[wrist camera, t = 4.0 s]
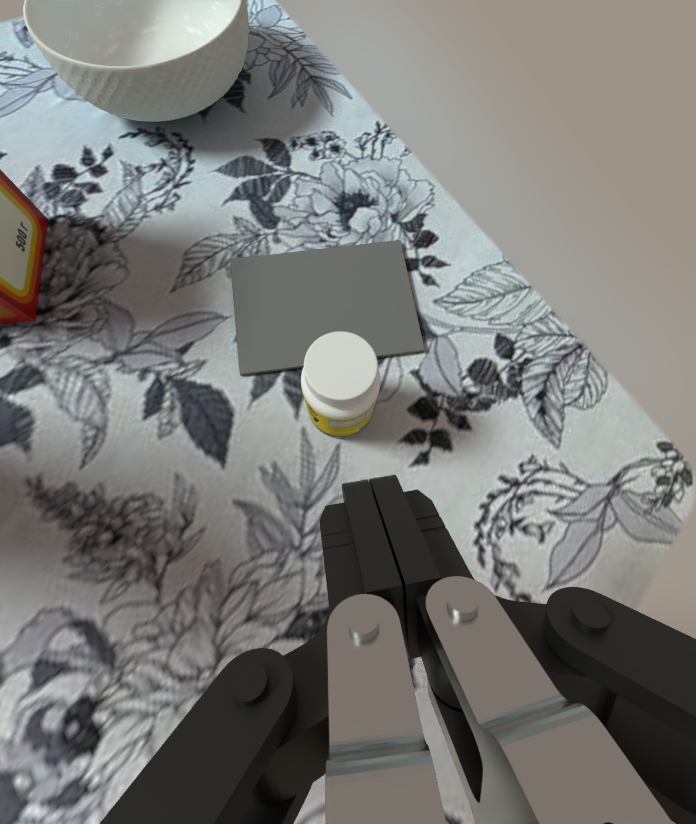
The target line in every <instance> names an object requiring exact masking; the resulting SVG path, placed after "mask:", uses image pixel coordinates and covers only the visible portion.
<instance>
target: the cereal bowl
mask: <svg viewBox="0 0 696 824" xmlns="http://www.w3.org/2000/svg"><path fill="white" fill-rule="evenodd" d="M23 12H24V20H25V24H26V27H27V29H28V31H29V33H30V35H31V37H32V38H33V40H34V41H35V43H36V45H37V47H38V48H39V50H40V51H41V52H42V53H43V55H44V57H45V58H46V60H47V61H48V62H49V63H50V65H51V67H52V68H53V69H54V70H55V71H56V72H57V73H58V75H59V76H60V78H62V80H63V81H65V82H66V84H67V85H68V86H69V87H70V88H72V89H73V90H74V91H75V92H76V93H77V94H78V95H80V96H81V97H82V98H83V99H84V100H86V101H88V102H90V103H91V104H93V105H94V106H96V107H98V108H100V109H101V110H104V111H107V112H109V113H110V114H114V115H116V116H118V117H123V118H126V119H131V120H136V121H149V122H156V121H158V122H160V121H170V120H174V119H180V118H184V117H188V116H189V115H192V114H196V113H197V112H199V111H201V110H204V109H205V108H207V107H209V106H210V105H212V104H213V103H214V102H216V101H217V100H218V99H219V98H221V97H223V96H224V94H225V93H226V92H227V91H228V90H229V89H230V87H231V86H232V85H233V84H234V82H235V80H236V79H237V78H238V75H239V73H240V72H241V70H242V67H243V65H244V61H245V57H246V55H247V48H248V46H249V42H248V39H249V23H248V12H247V4H246V0H25V1H24V7H23Z"/></svg>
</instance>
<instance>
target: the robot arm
mask: <svg viewBox="0 0 696 824" xmlns="http://www.w3.org/2000/svg"><path fill="white" fill-rule="evenodd" d="M342 492H343V499H344V503H339V504H333V505H328V506H325V509H324V511H323V513H322V516H321V518H320V529H321V537H322V546H323V555H324V564H325V573H326V582H327V590H328V599H329V610H328V615H327V618H326V621H325V623H324V625H323V626H322V628H321V629H320V631H319V632H318V633H317V634H316V635H315V636H314V637H313V638H312V639H311V640H310V641H308V642H307V643H305V644H304V645H302V646H300V647H298V648H297V649H295V650H293V651H291V652H289V653H288V654H286V655H284V656H283V655H281V654H280V653H279V652H277V651H274V650H272V649H267V648H258V649H253V650H249V651H246V652H244V653H242V654H240V655H239V656H237V657H236V658H234V659H233V660H232V661H231V662H230V663H228V664H227V665H226V667H225V668H224V669H223V670H222V671H221V672H220V674H219V675H218V676H217V677H216V679H215V680H214V681H213V682H212V684H211V685H210V686H209V687H208V689H207V690H206V691H205V692H204V694H203V695H202V696H201V697H200V699H199V700H198V701H197V702H196V704H195V705H194V706H193V707H192V709H191V710H190V711H189V712H188V714H187V715H186V716H185V717H184V719H183V720H182V721H181V722H180V724H179V725H178V726H177V727H176V729H175V730H174V731H173V733H172V734H171V735H170V736H169V738H168V739H167V740H166V741H165V743H164V744H163V745H162V746H161V748H160V749H159V750H158V751H157V753H156V754H155V755H154V756H153V758H152V759H151V760H150V761H149V763H148V764H147V765H146V766H145V768H144V769H143V770H142V771H141V773H140V774H139V775H138V776H137V778H136V779H135V780H134V781H133V783H132V784H131V785H130V786H129V788H128V789H127V790H126V791H125V793H124V794H123V795H122V796H121V798H120V799H119V800H118V801H117V803H116V804H115V805H114V806H113V808H112V809H111V810H110V811H109V813H108V814H107V815H106V816H105V818H104V819H103V820H102V821H101V823H100V824H293V823H294V821H295V819H296V817H297V815H298V813H299V811H300V809H301V807H302V805H303V803H304V801H305V799H306V797H307V795H308V793H309V791H310V788H311V786H312V783H313V782H314V781H316V780H317V779H319V778H320V777H321V776H323V775H324V774H326V775H325V810H326V824H446V821H445V816H444V812H443V807H442V802H441V797H440V793H439V788H438V783H437V779H436V774H435V770H434V765H433V761H432V757H431V754H430V750H429V747H428V745H427V744H426V742H425V739H424V735H423V731H422V726H421V722H420V717H419V712H418V707H417V702H416V697H415V692H414V687H413V683H412V678H411V673H410V668H409V663H408V658H407V653H406V648H407V652H408V655H409V659H412V658H417V657H422V661H423V664H424V667H425V670H426V673H427V687H428V694H429V697H430V700H431V703H432V705H433V708H434V711H435V713H436V716H437V719H438V721H439V724H440V726H441V729H442V732H443V734H444V737H445V740H446V742H447V745H448V748H449V750H450V753H451V756H452V758H453V761H454V763H455V766H456V769H457V771H458V774H459V777H460V779H461V782H462V785H463V787H464V790H465V792H466V795H467V798H468V800H469V803H470V806H471V809H472V813H473V816H474V820H475V824H673V823H672V821H673V822H674V823H676V824H696V639H694V638H692V637H690V636H688V635H686V634H684V633H682V632H679V631H677V630H675V629H673V628H671V627H669V626H667V625H665V624H663V623H661V622H658V621H656V620H654V619H652V618H650V617H648V616H646V615H644V614H641V613H640V612H638V611H635V610H633V609H631V608H629V607H627V606H625V605H623V604H621V603H619V602H616V601H614V600H612V599H610V598H608V597H606V596H604V595H602V594H600V593H597V592H595V591H592V590H589V589H585V588H579V587H567V588H562V589H559V590H557V591H555V592H554V593H553V594H552V595H551V596H550V597H549V599H548V601H547V604H537V603H528V602H518V601H511V600H507V599H503V598H500V597H498V596H495V595H494V594H493V593H492V592H491V591H490V590H489V589H488V588H487V587H486V586H484V585H483V584H482V583H480V582H478V581H476V580H475V579H474V578H473V576H472V575H471V573H470V571H469V570H468V568H467V566H466V564H465V562H464V560H463V558H462V556H461V555H460V553H459V551H458V549H457V547H456V545H455V543H454V541H453V540H452V538H451V536H450V534H449V532H448V530H447V529H446V528H445V525H444V523H443V521H442V519H441V517H439V513H438V512H437V510H436V508H435V506H434V504H433V502H432V500H430V499H429V498H428V497H427V496H425V495H424V494H423V493H421V492H420V491H419V490H413V491H407V492H403V490H402V487H401V485H400V483H399V481H398V478H397V476H396V475H390V476H384V477H379V478H373V479H369V481H368V480H361V481H356V482H350V483H344V484H342Z"/></svg>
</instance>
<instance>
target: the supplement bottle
mask: <svg viewBox="0 0 696 824" xmlns="http://www.w3.org/2000/svg"><path fill="white" fill-rule="evenodd" d="M301 386H302V392H303V395H304V398H305V402H306V405H307V409H308V412H309V415H310V418H311V420H312V422H313V424H314V425H315V426H316V428H317V429H318V430H319V431H321V432H322V433H324V434H325V435H328V436H330V437H334V438H347V437H351V436H354V435H356V434H358V433H359V432H361V431H362V430H363V429H364V428H365V427H366V426H367V424H368V423H369V421H370V419H371V416H372V413H373V410H374V407H375V403H376V400H377V397H378V394H379V390H380V374H379V370H378V362H377V357H376V354H375V352H374V350H373V348H372V347H371V346H370V344H369V343H368V342H367V341H365V340H364V339H363V338H361V337H360V336H358V335H356V334H353V333H350V332H341V331H339V332H331V333H328V334H325V335H323V336H321V337H320V338H318V339H317V340H316V341H315V342H314V343H313V344H312V345H311V346H310V348H309V349H308V351H307V353H306V356H305V359H304V367H303V371H302V375H301Z"/></svg>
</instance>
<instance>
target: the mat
mask: <svg viewBox="0 0 696 824" xmlns="http://www.w3.org/2000/svg"><path fill="white" fill-rule="evenodd" d="M230 262H231V274H232V286H233V298H234V310H235V322H236V334H237V346H238V358H239V370H240V375H241V376H245V375H252V374H260V373H268V372H275V371H283V370H290V369H298V368H303V367H304V359H305V356H306V353H307V351H308V349H309V348H310V346H311V345H312V344H313V343H314V342H315V341H316V340H317V339H318V338H320V337H321V336H323V335H325V334H328V333H331V332H339V331H341V332H350V333H353V334H356V335H358V336H360V337H361V338H363V339H364V340H365V341H367V342H368V343H369V344H370V346H371V347H372V348H373V350H374V352H375V354H376V357H377V358H381V357H389V356H396V355H404V354H411V353H419V352H424V350H425V349H424V345H423V340H422V336H421V331H420V327H419V322H418V318H417V313H416V309H415V304H414V300H413V295H412V291H411V286H410V282H409V277H408V273H407V268H406V264H405V259H404V255H403V250H402V246H401V241H400V240H396V241H387V242H378V243H369V244H361V245H352V246H343V247H334V248H325V249H317V250H308V251H299V252H290V253H281V254H272V255H264V256H255V257H246V258H237V259H230Z"/></svg>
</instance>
